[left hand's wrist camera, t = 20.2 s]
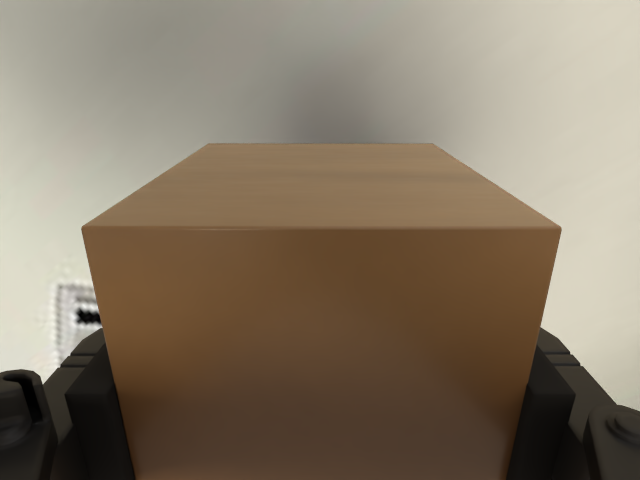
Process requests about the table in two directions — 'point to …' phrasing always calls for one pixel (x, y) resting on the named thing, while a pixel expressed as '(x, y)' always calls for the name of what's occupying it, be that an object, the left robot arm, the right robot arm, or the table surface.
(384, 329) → the brown wooden cube
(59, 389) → the left robot arm
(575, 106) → the table surface
